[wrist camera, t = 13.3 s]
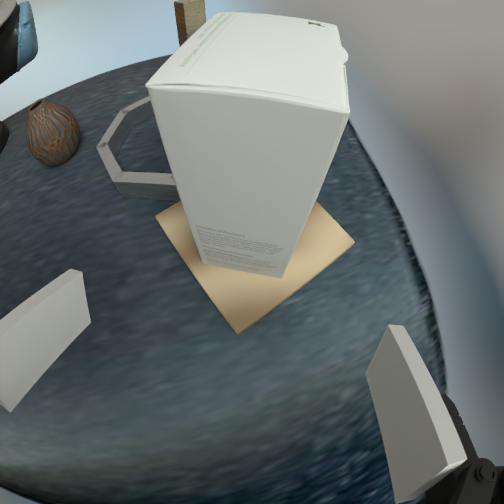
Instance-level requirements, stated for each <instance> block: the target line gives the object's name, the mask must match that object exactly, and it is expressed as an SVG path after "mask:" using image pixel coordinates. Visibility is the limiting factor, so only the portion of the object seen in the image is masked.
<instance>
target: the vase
mask: <svg viewBox="0 0 504 504" xmlns="http://www.w3.org/2000/svg"><path fill="white" fill-rule="evenodd" d="M26 140H27V144H28V147H29V150H30V151H31V153H32V155H33V156H34V157H35V158H36V159H37V160H38V161H39V162H41V163H42V164H45V165H48V166H56V165H61V164H63V163H65V162H66V161H68V160H69V159H70V158H71V157H72V156H73V155H74V153H75V151H76V149H77V147H78V144H79V140H80V131H79V126H78V123H77V121H76V119H75V117H74V115H73V114H72V113H71V112H70V111H69V110H68V109H67V108H66V107H64V106H62V105H59V104H55V103H51V102H48V101H47V100H45V99H39V100H37V101H36V102H35V103H33V104H32V105H31V106H30V107H29V109H28V122H27V130H26Z"/></svg>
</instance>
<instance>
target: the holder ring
mask: <svg viewBox="0 0 504 504" xmlns="http://www.w3.org/2000/svg"><path fill="white" fill-rule="evenodd" d="M174 8H175V16H176V23H177V30H178V38H179V44H180V46H181V45H183V44H184V43H185V42H186V41H187V40H188V39H189V38H190V37H191V36H192V35H193V34H194V33H195V32H196V31H197V30H198V29H199V28H200V27H201V26H202V25H204V24H205V23H206V16H205V1H204V0H179V1H175V2H174ZM153 116H155V114H154V111H153V107H152V103H151V99H150V96H148V97H146V98H144V99H142V100H140V101H138V102H136V103H134V104H132V105H130V106H128V107H126V108H124V109H122V110H121V111H120V112H119V113H118V115H117V116H116V118H115V119H114V121H113V122H112V124H111V125H110V127H109V128H108V130H107V131H106V133H105V134H104V136H103V137H102V139H101V141H100V142H99V144H98V145H97V147H96V148H97V150H98V152H99V154H100V157H101V159H102V161H103V163H104V165H105V167H106V169H107V171H108V173H109V175H110V177H111V179H112V181H113V183H114V184H115V186H116V188H117V189H118V191H119V193H120V194H121V196H122V197H125V198H139V199H152V200H164V201H175V202H179V201H180V200H181V199H180V196H179V193H178V190H177V187H176V184H175V181H174V178H173V174H167V173H147V172H122V170H121V168H120V167H119V165H118V163H117V161H116V160H115V157H116V156H117V154H118V152H119V150H120V148H121V147H122V145H123V143H124V141H125V140H126V138H127V136H128V134H129V133H130V131H131V129H132V128H133V127H134V126H136V125H138V124H140V123H142V122H144V121H145V120H147V119H149V118H151V117H153Z"/></svg>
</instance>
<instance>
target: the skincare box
mask: <svg viewBox="0 0 504 504" xmlns="http://www.w3.org/2000/svg"><path fill="white" fill-rule="evenodd" d="M347 60H348V54H347V52H346V50H345V49H344V48H343V47H342V46H341V42H340V37H339V32H338V29H337V26H336V25H332V24H328V23H323V22H318V21H313V20H307V19H301V18H294V17H286V16H278V15H269V14H257V13H242V12H241V13H240V12H221V13H216V14H215V15H214V16H212V17H211V18H210V19H209V20H208V21H207V22H206V23H205V24H204V25H202V26H201V27H200V28H199V29H198V30H197V31H196V32H195V33H194V34H193V35H192V36H191V37H190V38H189V39H188V40H187V41H186V42H185V43H184V44H183V45H181V46H180V48H179V49H178V50H177V51H176V52H175V53H174V54H173V55H172V56H171V57H170V58H169V59H168V60H167V61H166V62H165V63H164V64H163V65H162V66H161V67H160V69H159V70H158V71H157V72H156V73H155V74H154V75H153V76H152V77H151V79H150V80H149V81H148V82H147V83H146V88H147V89H148V92H149V96H150V99H151V103H152V107H153V111H154V114H155V118H156V121H157V125H158V128H159V131H160V135H161V139H162V142H163V145H164V149H165V152H166V155H167V158H168V162H169V165H170V168H171V171H172V174H173V178H174V181H175V184H176V187H177V190H178V193H179V196H180V199H181V203H182V205H183V208H184V211H185V214H186V217H187V220H188V223H189V226H190V229H191V232H192V235H193V238H194V241H195V243H196V246H197V249H198V251H199V254H200V257H201V260H202V262H203V264H207V265H211V266H216V267H222V268H227V269H232V270H237V271H243V272H248V273H254V274H259V275H264V276H270V277H275V278H279V279H281V278H282V277H283V275H284V273H285V270H286V268H287V266H288V263H289V261H290V259H291V256H292V254H293V252H294V250H295V247H296V245H297V243H298V241H299V238H300V236H301V234H302V231H303V229H304V227H305V224H306V222H307V220H308V217H309V215H310V212H311V210H312V208H313V205H314V203H315V201H316V199H317V196H318V194H319V192H320V189H321V187H322V184H323V182H324V179H325V176H326V174H327V172H328V169H329V167H330V164H331V162H332V159H333V157H334V154H335V152H336V149H337V147H338V144H339V141H340V139H341V136H342V134H343V131H344V128H345V126H346V123H347V121H348V118H349V115H350V107H349V103H348V88H347V78H346V68H345V63H346V61H347Z"/></svg>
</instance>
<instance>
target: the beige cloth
mask: <svg viewBox="0 0 504 504" xmlns="http://www.w3.org/2000/svg"><path fill="white" fill-rule="evenodd" d="M155 217H156V219H157V221H158V223H159V224H160V226H161V227H162V229H163V230H164V232H165V234H166V235H167V237H168V238H169V240H170V241H171V243H172V244H173V246H174V247H175V249H176V250H177V252H178V253H179V255H180V256H181V258H182V259H183V260H184V262H185V263H186V265H187V266H188V268H189V269H190V271H191V272H192V274H193V275H194V276H195V278H196V279H197V281H198V282H199V284H200V285H201V286H202V288H203V289H204V291H205V292H206V293H207V295H208V296H209V298H210V299H211V300H212V302H213V303H214V304H215V306H216V307H217V309H218V310H219V311H220V313H221V314H222V315H223V317H224V318H225V319H226V321H227V322H228V323H229V325H230V326H231V327H232V329H233V330H234V331H235V333H236V334H237V335H239V334H241V333H242V332H243V331H245V330H246V329H248V328H249V327H250V326H252V325H253V324H254V323H256V322H257V321H258V320H260V319H261V318H262V317H264V316H265V315H266V314H268V313H269V312H270V311H272V310H273V309H274V308H276V307H277V306H278V305H280V304H281V303H282V302H284V301H285V300H286V299H287V298H289V297H290V296H291V295H293V294H294V293H295V292H296V291H298V290H299V289H300V288H301V287H303V286H304V285H305V284H307V283H308V282H309V281H310V280H312V279H313V278H314V277H315V276H317V275H318V274H319V273H320V272H321V271H323V270H324V269H325V268H326V267H328V266H329V265H330V264H331V263H332V262H334V261H335V260H336V259H337V258H338V257H340V256H341V255H342V254H343V253H344V252H346V251H347V250H348V249H349V248H350V247H351V246H352V245H353V244H354V243H355V241H354V240H353V239H352V238H351V237H350V236H349V235H348V234H347V233H346V232H345V231H344V230H343V229H342V227H341V226H340V225H339V224H338V223H337V222H336V221H335V220H334V219H333V218H332V217H331V216H330V215H329V214H328V213H327V212H326V211H325V210H324V209H323V208H322V207H321V206H320V205H319V204H318V203H317V202H316V201H315V203H314V205H313V208H312V210H311V212H310V215H309V217H308V220H307V222H306V224H305V227H304V229H303V231H302V234H301V236H300V238H299V241H298V243H297V245H296V247H295V250H294V252H293V254H292V256H291V259H290V261H289V263H288V266H287V268H286V270H285V273H284V275H283V277H282V278H281V279H279V278H275V277H270V276H264V275H259V274H254V273H248V272H243V271H237V270H232V269H227V268H222V267H216V266H211V265H207V264H203V262H202V260H201V257H200V254H199V251H198V249H197V246H196V243H195V241H194V238H193V235H192V232H191V229H190V226H189V223H188V220H187V217H186V214H185V211H184V208H183V205H182V203H181V200H180V201H179V202H177V203H175V204H174V205H172V206H171V207H169V208H167V209H166V210H164V211H163V212H161V213H159V214H158V215H156V216H155Z"/></svg>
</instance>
